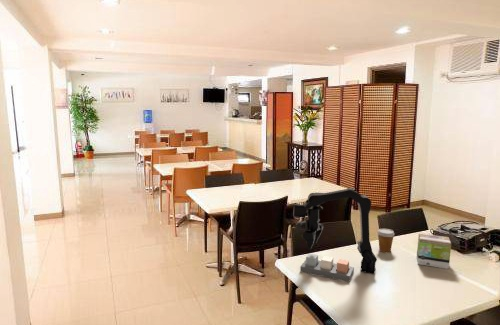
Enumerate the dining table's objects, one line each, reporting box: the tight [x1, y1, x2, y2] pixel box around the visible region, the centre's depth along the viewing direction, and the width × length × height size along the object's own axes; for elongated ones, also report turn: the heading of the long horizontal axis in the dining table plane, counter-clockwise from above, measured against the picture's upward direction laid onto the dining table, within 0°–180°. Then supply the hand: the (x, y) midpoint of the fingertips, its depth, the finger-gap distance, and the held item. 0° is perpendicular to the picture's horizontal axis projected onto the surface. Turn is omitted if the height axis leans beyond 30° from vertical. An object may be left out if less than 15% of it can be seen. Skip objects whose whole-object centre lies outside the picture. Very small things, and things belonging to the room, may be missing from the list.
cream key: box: [320, 255, 334, 270], centre depth 180 cm, size 5×5×5 cm
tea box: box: [416, 233, 452, 270], centre depth 189 cm, size 15×10×15 cm
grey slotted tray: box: [299, 259, 355, 283], centre depth 180 cm, size 25×11×3 cm, turn 64°
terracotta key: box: [336, 258, 350, 273], centre depth 176 cm, size 5×5×5 cm
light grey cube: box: [305, 253, 319, 267], centre depth 183 cm, size 5×5×5 cm
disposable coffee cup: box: [377, 228, 395, 253], centre depth 208 cm, size 10×10×12 cm
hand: (312, 246), depth 183 cm, fingers open, 9 cm apart
